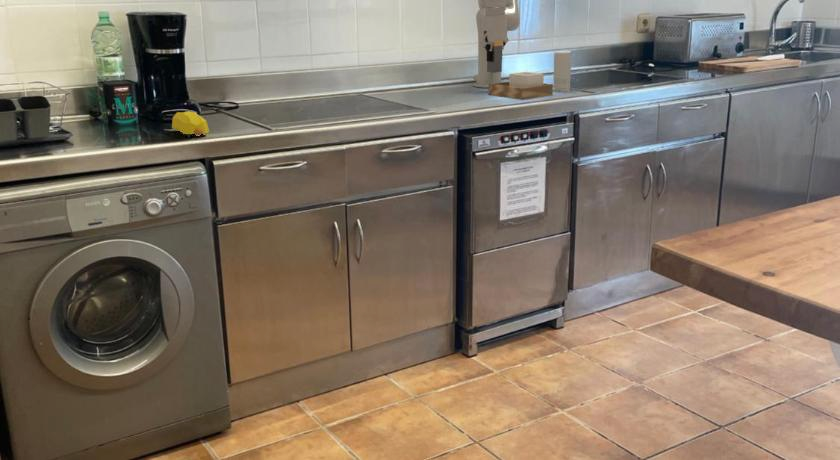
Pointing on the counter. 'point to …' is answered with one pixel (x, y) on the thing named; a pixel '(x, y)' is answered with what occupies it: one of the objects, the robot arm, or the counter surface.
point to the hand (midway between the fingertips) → (494, 60)
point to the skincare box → (562, 71)
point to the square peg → (496, 58)
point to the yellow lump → (189, 123)
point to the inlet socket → (526, 79)
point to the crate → (520, 91)
